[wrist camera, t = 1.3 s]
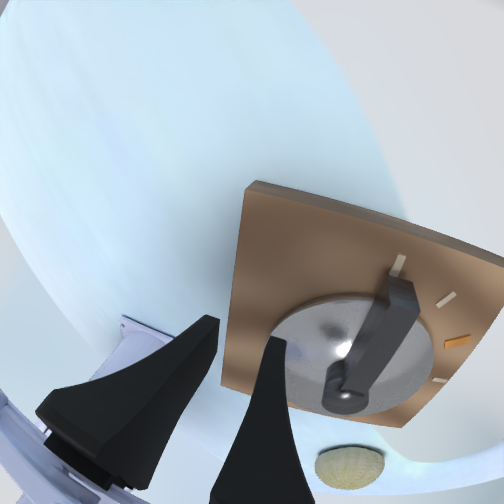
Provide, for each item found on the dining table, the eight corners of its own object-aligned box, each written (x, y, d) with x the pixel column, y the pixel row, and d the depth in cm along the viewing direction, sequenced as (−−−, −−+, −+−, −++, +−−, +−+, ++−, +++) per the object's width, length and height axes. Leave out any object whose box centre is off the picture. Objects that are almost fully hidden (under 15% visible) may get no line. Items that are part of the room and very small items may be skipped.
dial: (384, 416, 20) (383, 449, 17) (254, 386, 23) (241, 419, 20) (477, 292, 13) (496, 331, 10) (292, 238, 15) (278, 272, 12)
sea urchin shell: (358, 447, 25) (376, 500, 21) (382, 425, 30) (397, 471, 26) (296, 460, 29) (313, 507, 25) (327, 440, 35) (342, 482, 31)
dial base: (401, 411, 23) (401, 429, 21) (227, 369, 26) (219, 386, 24) (508, 259, 13) (522, 276, 12) (255, 180, 17) (243, 190, 15)
